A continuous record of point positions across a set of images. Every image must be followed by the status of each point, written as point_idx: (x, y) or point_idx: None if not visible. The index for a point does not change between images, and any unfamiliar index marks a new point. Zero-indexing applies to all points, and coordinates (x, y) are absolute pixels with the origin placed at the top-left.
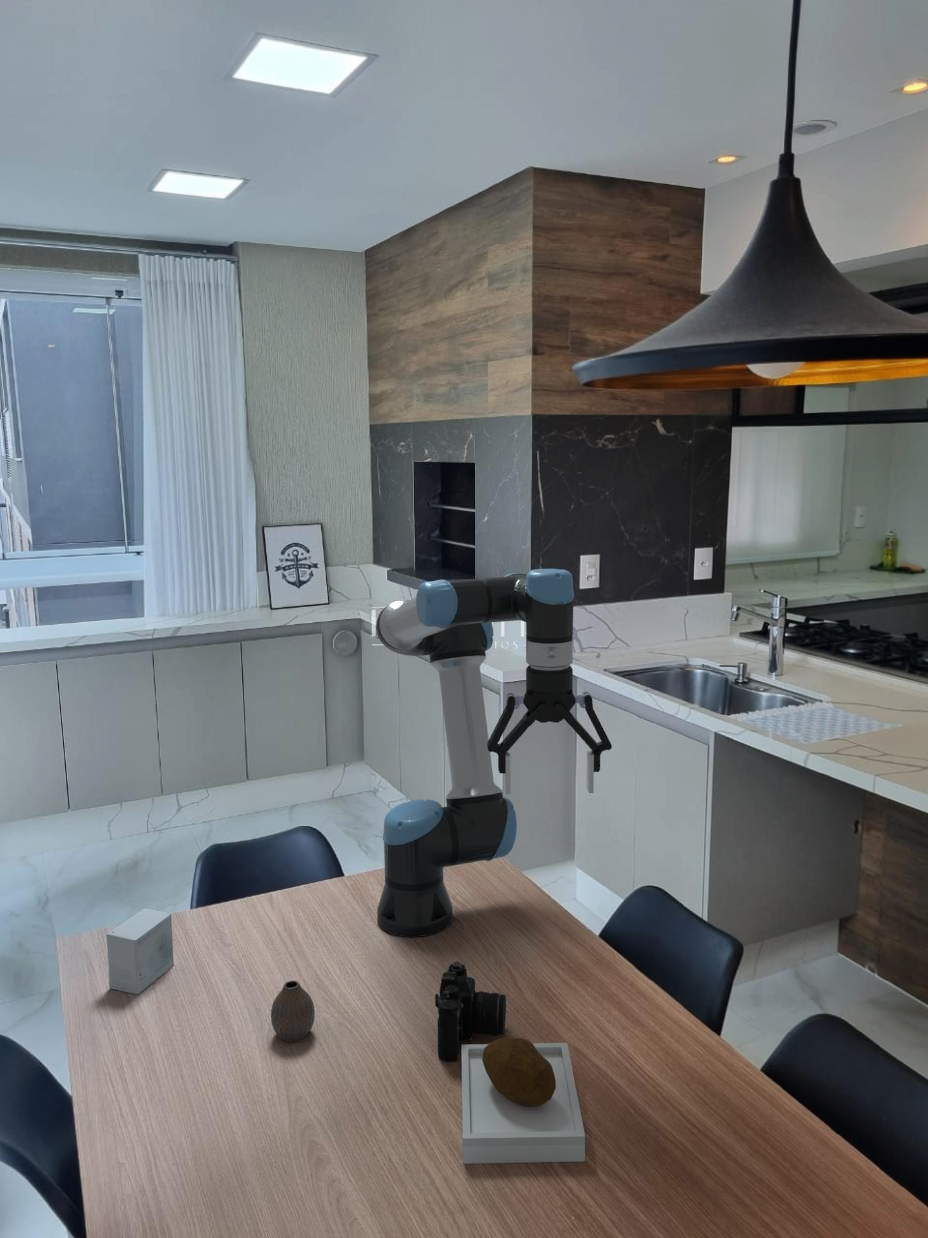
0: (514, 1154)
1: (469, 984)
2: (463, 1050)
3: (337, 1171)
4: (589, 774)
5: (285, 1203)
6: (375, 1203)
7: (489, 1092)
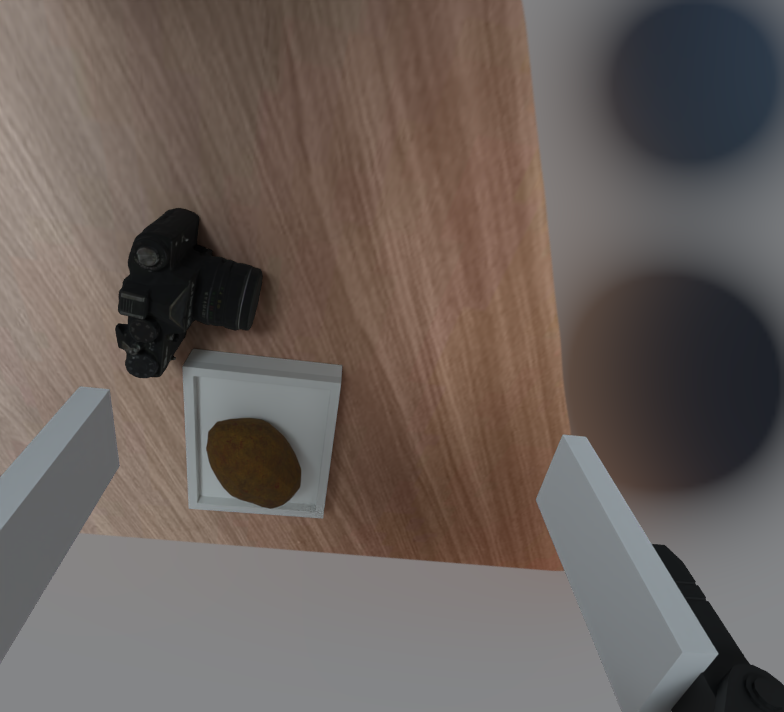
0: None
1: (177, 318)
2: (185, 379)
3: None
4: (574, 586)
5: None
6: (111, 515)
7: None
